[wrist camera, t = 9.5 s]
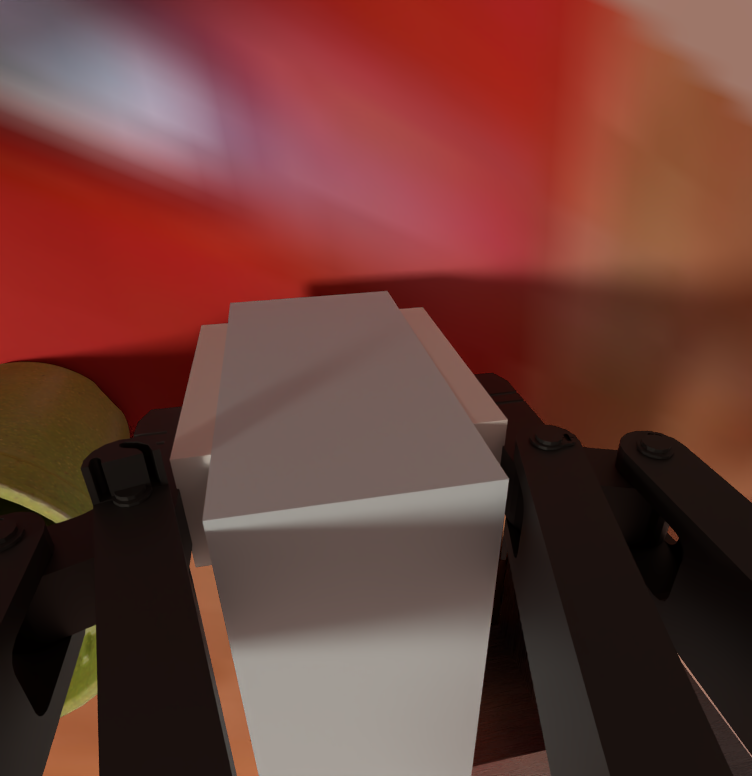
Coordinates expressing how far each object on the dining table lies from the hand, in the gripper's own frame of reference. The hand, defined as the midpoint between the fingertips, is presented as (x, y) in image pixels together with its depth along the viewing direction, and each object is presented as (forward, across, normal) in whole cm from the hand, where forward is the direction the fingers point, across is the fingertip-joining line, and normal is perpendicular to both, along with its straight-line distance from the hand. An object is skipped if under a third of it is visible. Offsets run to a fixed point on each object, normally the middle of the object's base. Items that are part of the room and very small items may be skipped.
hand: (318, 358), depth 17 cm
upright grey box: (+2, 0, -4) cm, 4 cm away
